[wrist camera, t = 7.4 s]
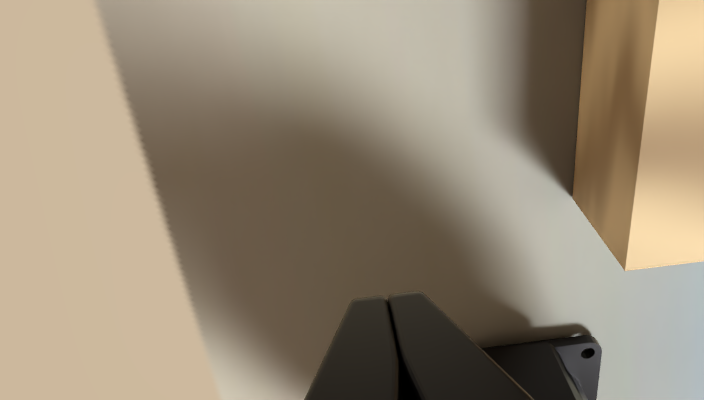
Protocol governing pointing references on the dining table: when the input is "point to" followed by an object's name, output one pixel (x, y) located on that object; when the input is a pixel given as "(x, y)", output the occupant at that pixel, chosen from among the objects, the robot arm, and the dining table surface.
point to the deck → (643, 130)
